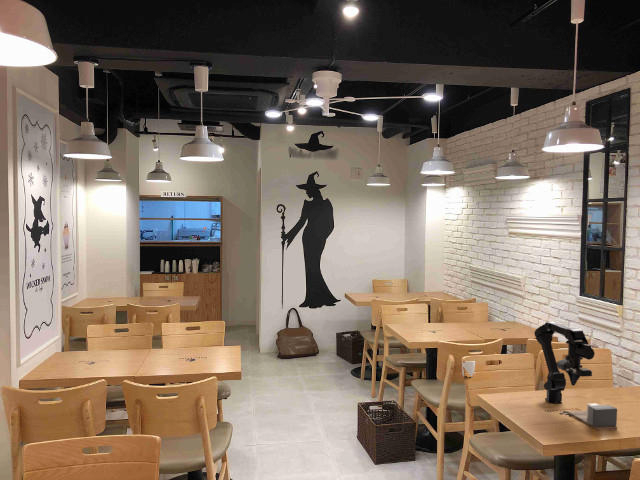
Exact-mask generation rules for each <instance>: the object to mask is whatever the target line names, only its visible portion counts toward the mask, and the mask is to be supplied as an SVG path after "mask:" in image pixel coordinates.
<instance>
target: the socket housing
mask: <svg viewBox="0 0 640 480" xmlns="http://www.w3.org/2000/svg"><path fill="white" fill-rule="evenodd" d="M617 419H618V408H617V407H614V406H613V405H610V404H601V405H600V404H599V405H596V406H588V423H589V424H591V425H592V426H594V427H607V426H617V425H618V424H617V423H618V422H617V421H618V420H617Z"/></svg>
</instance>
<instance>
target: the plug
mask: <svg viewBox="0 0 640 480" xmlns="http://www.w3.org/2000/svg"><path fill="white" fill-rule="evenodd" d="M586 404H587V405H586V411H587V419H588V406H596V405H600V404H599V403H594V402H593V403H586Z"/></svg>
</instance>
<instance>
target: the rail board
mask: <svg viewBox="0 0 640 480" xmlns="http://www.w3.org/2000/svg"><path fill="white" fill-rule="evenodd" d="M566 413H567V414H566V415H568V416H570V417H572V418H574V419H576V420H578V421H580V422H581V423H583V424H585V425H587V426H589V427H591V428H592V429H594V430H596V431H612V430H613V431H615V430H618V426H617V425H616V426H607V427H594V426H592V425H591V424H589V423H588V419H587V410H571V411H570V410H569V411H566Z"/></svg>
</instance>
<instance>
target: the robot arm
mask: <svg viewBox="0 0 640 480" xmlns="http://www.w3.org/2000/svg"><path fill="white" fill-rule="evenodd" d="M557 333H558V334H559V335H562V336H564V338H565V339H566V341H565V344H567V345H568V347H567V351H568V352H567V354H566V355H565V358H563V359H560V360H558V361H556V360H557V359H556V357H555V353H554V350H553V346H552V341H553V339H554V338H553V335H554V334H557ZM534 337H535V339H536V341H537V342H538V344H539V345H541V348H542V352H543V356H544V359H545V364H546V366H547V371H548V372H547V376H546V380H547V381H546V382H545V383H543V388H544V389H545V390H546V397H545V398H544V399H545V400H546V401H547V402H548V403H549V404H563V402H562V401H563V394H562V392H564V391H565V388H566V386H567V379H566V376H565V373H567V375H568V378H569V380H570V384H571V386H572V387H573V386H575V385H576V384H577V382H578V381H579V379H580V378H581V377H583V378H584V377H592V376H593V371H592V370H591V369H588V368H583V365H582V364H581V361H582V360H583V359H585V360H587V361H588V360H589V361H590V360H593V358H594V357H595V354H596V353H595V349H593V348H592V345H591V344H589V342H588V340H587V338H586V335H585V333H584V331H583V330H582V329H581V328H573V327H572V328H570V327H567V326H564V325H562V324H560V323H557V322H556V321H546V322H545V323H543V324H542V325H541V326H538V327H537V328H536V329H535V330H534ZM560 370H562V371H564V372H565V373H564V372H561V371H560Z"/></svg>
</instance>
